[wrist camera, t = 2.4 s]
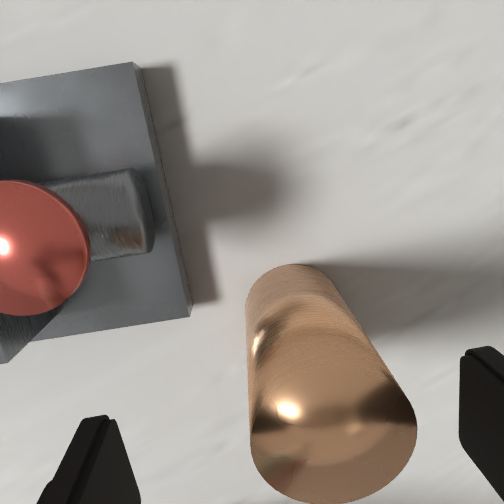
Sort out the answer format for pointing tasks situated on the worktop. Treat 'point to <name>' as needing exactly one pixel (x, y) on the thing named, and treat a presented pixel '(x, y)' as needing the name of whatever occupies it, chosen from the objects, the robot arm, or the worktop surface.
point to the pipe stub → (320, 393)
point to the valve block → (83, 209)
